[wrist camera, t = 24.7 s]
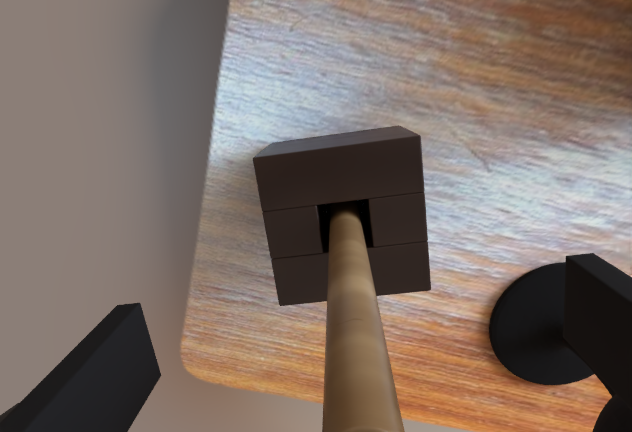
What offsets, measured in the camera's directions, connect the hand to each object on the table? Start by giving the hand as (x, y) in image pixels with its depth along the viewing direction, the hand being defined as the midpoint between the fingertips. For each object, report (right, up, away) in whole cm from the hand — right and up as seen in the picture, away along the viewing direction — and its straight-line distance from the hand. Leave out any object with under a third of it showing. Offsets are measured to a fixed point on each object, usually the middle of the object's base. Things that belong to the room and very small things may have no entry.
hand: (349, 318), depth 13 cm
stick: (+1, +4, +17) cm, 17 cm away
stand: (+1, +5, +17) cm, 17 cm away
